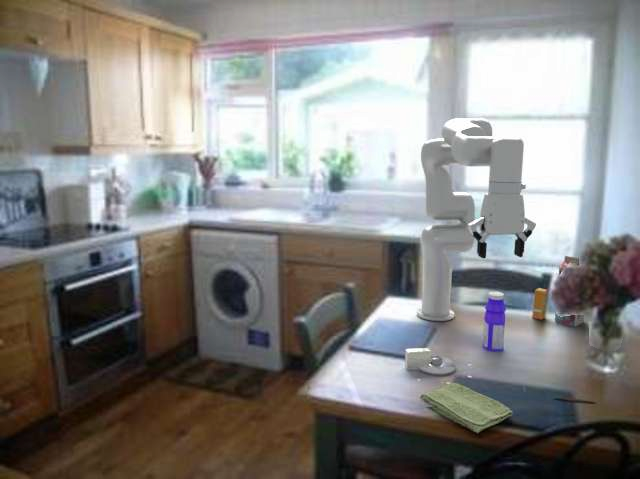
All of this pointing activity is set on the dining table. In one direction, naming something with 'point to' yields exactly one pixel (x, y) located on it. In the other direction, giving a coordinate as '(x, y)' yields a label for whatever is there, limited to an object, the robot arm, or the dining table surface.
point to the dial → (428, 362)
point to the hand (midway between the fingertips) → (500, 256)
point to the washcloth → (466, 406)
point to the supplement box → (539, 303)
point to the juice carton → (572, 319)
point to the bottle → (494, 322)
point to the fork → (572, 399)
